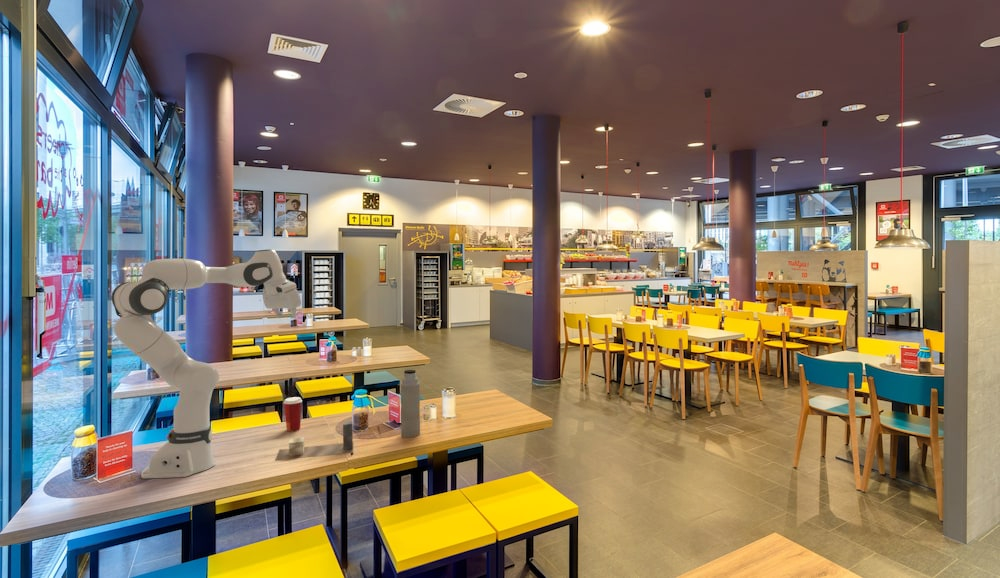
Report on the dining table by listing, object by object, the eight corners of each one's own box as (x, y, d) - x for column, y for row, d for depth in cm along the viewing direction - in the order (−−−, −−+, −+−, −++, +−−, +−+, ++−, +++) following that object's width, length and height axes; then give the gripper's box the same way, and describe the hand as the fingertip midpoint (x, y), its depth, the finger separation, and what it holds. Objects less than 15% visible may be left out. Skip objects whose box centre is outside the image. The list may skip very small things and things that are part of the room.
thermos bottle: (417, 430, 223) (417, 368, 222) (421, 435, 215) (421, 371, 214) (399, 432, 220) (399, 369, 219) (403, 438, 212) (402, 372, 211)
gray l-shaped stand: (274, 462, 186) (274, 433, 185) (279, 451, 197) (279, 424, 197) (353, 454, 194) (352, 427, 193) (353, 444, 205) (352, 418, 205)
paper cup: (305, 427, 228) (305, 396, 228) (297, 432, 221) (296, 401, 220) (289, 426, 229) (288, 396, 228) (280, 432, 221) (279, 400, 221)
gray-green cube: (289, 455, 190) (288, 442, 190) (290, 451, 195) (290, 438, 195) (303, 454, 192) (302, 441, 192) (304, 450, 197) (304, 437, 196)
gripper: (255, 289, 211) (265, 320, 214) (285, 288, 200) (296, 320, 203) (268, 284, 216) (278, 314, 219) (298, 283, 205) (308, 314, 209)
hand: (287, 317), depth 211 cm, fingers open, 8 cm apart
